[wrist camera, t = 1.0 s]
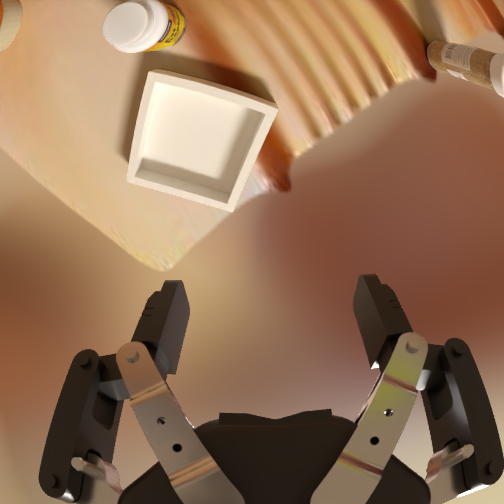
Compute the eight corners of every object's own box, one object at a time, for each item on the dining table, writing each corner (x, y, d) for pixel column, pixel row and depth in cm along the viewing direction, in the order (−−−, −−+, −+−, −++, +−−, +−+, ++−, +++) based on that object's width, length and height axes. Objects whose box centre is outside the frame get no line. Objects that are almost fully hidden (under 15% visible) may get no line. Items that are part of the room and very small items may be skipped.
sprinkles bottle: (438, 78, 22) (512, 111, 12) (419, 50, 20) (496, 70, 10) (457, 61, 20) (532, 90, 10) (438, 33, 18) (516, 49, 8)
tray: (134, 170, 32) (126, 181, 30) (158, 68, 24) (148, 71, 21) (233, 199, 36) (232, 212, 34) (276, 103, 27) (278, 109, 25)
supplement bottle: (185, 49, 22) (154, 52, 15) (137, 51, 22) (91, 59, 14) (191, 5, 18) (162, -12, 11) (142, 8, 18) (96, 0, 10)
